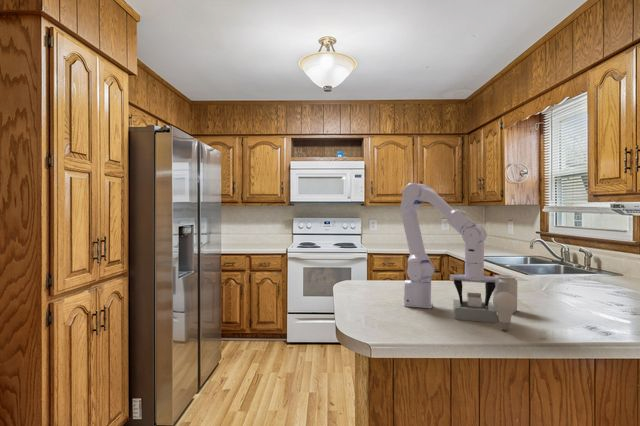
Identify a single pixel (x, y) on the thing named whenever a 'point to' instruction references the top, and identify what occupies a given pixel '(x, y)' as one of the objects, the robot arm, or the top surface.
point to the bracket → (474, 300)
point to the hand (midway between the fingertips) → (473, 304)
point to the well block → (474, 312)
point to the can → (506, 286)
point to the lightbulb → (504, 308)
